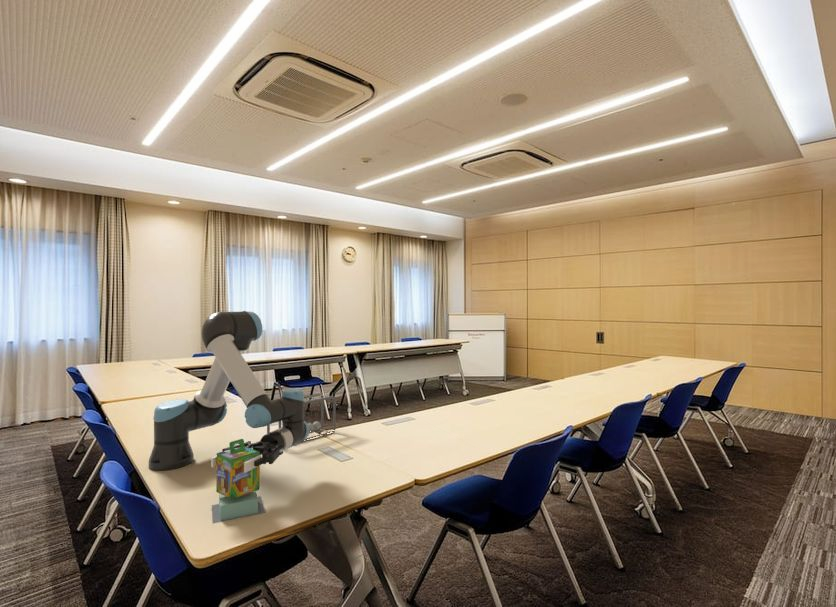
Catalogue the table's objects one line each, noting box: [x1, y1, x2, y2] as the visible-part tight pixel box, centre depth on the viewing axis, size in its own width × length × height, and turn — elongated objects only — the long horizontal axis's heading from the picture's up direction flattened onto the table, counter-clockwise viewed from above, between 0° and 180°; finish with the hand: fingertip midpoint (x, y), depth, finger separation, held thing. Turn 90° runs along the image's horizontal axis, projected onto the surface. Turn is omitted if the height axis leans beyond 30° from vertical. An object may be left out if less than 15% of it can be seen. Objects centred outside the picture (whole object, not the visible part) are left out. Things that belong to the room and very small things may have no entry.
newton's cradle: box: [266, 393, 337, 441], centre depth 199 cm, size 30×10×18 cm, turn 139°
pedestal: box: [218, 491, 259, 520], centre depth 129 cm, size 10×10×4 cm
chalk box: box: [215, 438, 261, 499], centre depth 129 cm, size 9×9×15 cm
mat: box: [211, 495, 266, 524], centre depth 129 cm, size 14×12×1 cm
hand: (228, 465), depth 125 cm, fingers closed on chalk box, 11 cm apart
